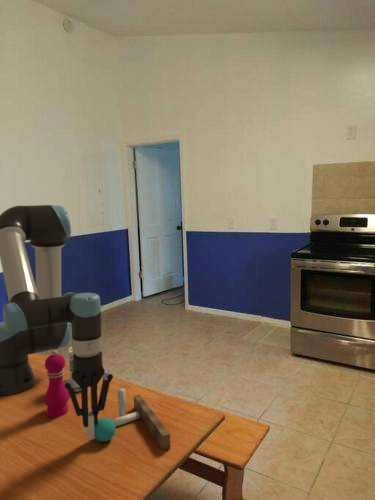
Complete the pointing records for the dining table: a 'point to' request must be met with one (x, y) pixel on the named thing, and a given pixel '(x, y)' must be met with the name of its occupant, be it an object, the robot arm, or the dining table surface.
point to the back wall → (152, 422)
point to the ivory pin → (126, 418)
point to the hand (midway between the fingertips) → (90, 436)
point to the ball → (104, 429)
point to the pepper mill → (56, 386)
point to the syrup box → (70, 354)
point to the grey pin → (121, 402)
